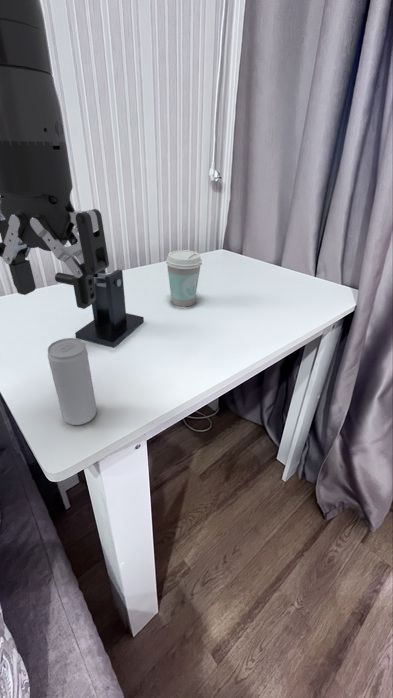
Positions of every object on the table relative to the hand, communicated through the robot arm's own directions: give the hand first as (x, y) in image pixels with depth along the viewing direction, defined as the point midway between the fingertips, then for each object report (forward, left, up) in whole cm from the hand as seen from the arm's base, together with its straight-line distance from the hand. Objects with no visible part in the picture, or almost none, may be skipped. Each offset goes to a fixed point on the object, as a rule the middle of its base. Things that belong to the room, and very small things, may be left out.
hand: (56, 298), depth 39 cm
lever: (+11, +18, -7) cm, 22 cm away
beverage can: (0, 0, -19) cm, 19 cm away
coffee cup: (+36, +24, -19) cm, 47 cm away
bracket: (+15, +21, -19) cm, 32 cm away
